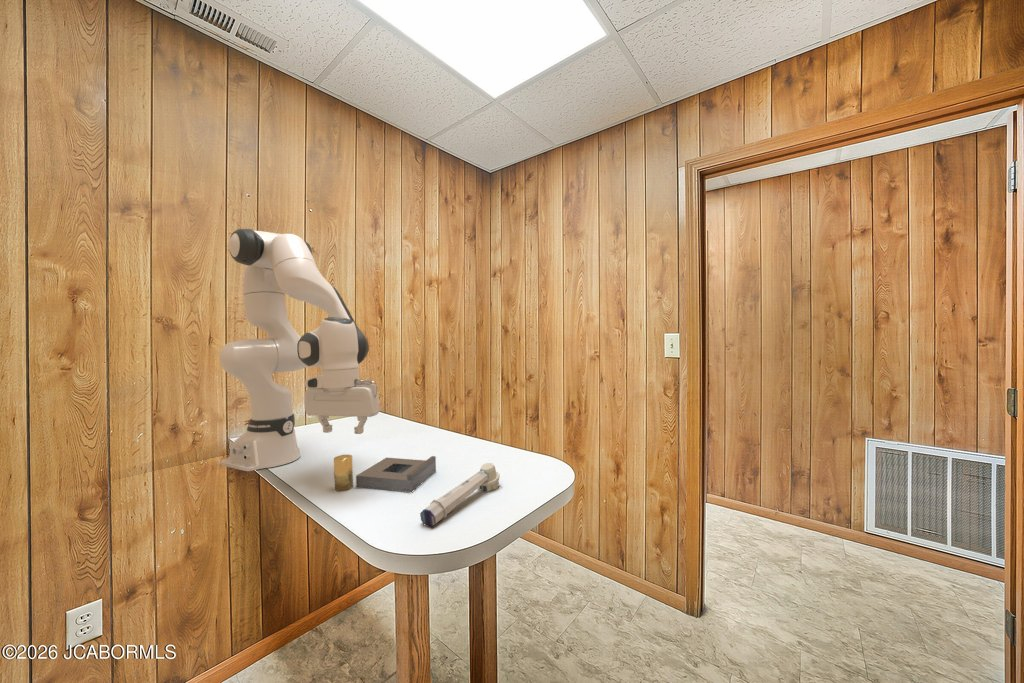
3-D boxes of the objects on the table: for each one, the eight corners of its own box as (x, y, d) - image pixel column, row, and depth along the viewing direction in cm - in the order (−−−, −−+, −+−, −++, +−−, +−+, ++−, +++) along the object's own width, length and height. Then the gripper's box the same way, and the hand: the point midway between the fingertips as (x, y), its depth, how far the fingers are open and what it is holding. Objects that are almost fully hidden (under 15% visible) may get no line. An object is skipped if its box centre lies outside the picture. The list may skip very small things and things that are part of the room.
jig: (356, 486, 96) (355, 470, 96) (386, 467, 110) (386, 452, 110) (411, 492, 93) (411, 475, 93) (435, 471, 106) (435, 456, 106)
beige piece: (416, 506, 78) (485, 455, 98) (420, 535, 79) (488, 478, 99) (434, 512, 75) (502, 459, 96) (438, 542, 76) (504, 482, 97)
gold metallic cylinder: (330, 490, 95) (329, 459, 94) (342, 483, 99) (341, 454, 99) (345, 492, 94) (344, 461, 93) (356, 484, 98) (355, 455, 98)
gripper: (383, 378, 96) (385, 430, 96) (317, 378, 101) (319, 428, 101) (368, 381, 90) (371, 437, 90) (299, 381, 95) (301, 434, 95)
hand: (343, 432), depth 96 cm, fingers open, 8 cm apart
